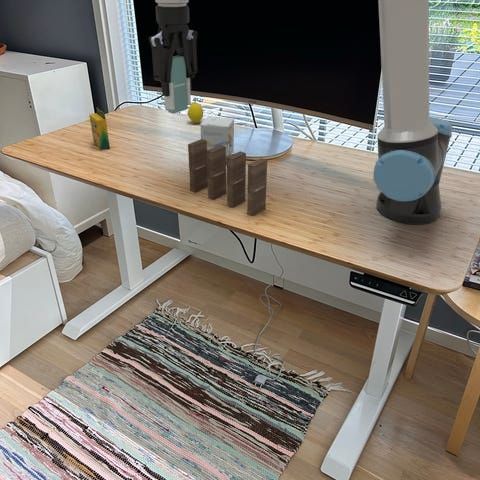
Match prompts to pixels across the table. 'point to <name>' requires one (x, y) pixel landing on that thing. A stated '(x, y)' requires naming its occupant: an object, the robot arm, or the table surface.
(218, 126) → the ink box
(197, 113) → the fruit
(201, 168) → the domino
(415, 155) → the robot arm
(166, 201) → the table surface
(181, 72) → the domino
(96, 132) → the crayon box
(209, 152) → the domino
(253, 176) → the domino
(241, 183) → the domino
